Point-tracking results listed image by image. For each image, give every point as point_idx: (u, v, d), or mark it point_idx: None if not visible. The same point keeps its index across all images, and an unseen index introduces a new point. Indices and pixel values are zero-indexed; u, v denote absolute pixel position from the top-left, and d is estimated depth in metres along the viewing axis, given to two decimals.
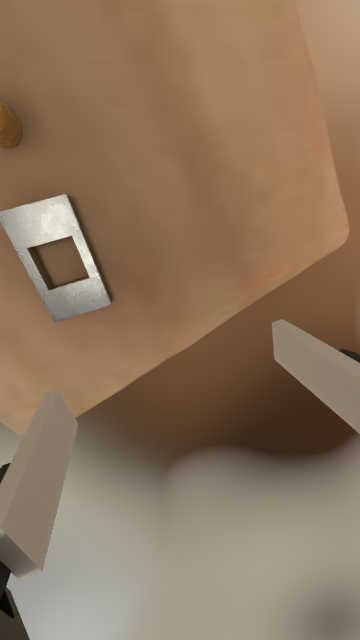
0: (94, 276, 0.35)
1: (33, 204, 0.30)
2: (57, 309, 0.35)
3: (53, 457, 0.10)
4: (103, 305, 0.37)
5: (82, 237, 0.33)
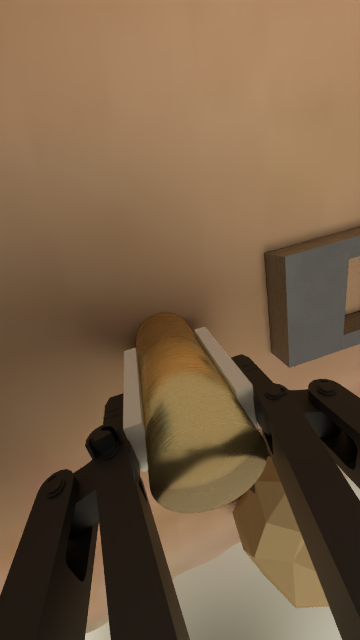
0: None
1: (289, 315, 0.17)
2: None
3: None
4: None
5: (357, 238, 0.16)
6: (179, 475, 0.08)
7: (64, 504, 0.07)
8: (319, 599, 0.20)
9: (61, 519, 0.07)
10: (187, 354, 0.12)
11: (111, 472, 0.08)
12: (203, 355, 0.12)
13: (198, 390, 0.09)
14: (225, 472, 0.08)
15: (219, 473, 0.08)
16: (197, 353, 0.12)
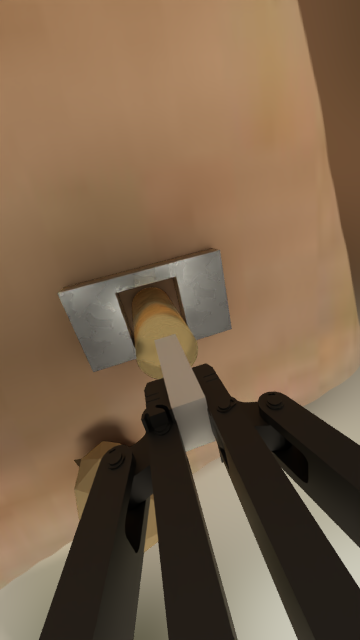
0: (174, 269, 0.23)
1: (77, 333, 0.23)
2: (214, 323, 0.26)
3: None
4: (219, 261, 0.24)
5: (117, 279, 0.22)
6: (151, 353, 0.16)
7: (124, 478, 0.08)
8: None
9: (121, 492, 0.07)
10: (161, 304, 0.20)
11: (163, 448, 0.08)
12: (171, 306, 0.20)
13: (162, 315, 0.17)
14: None
15: None
16: (167, 304, 0.20)
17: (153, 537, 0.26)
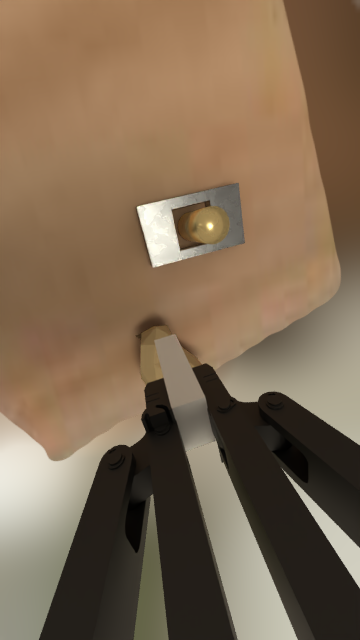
0: (209, 195, 0.35)
1: (146, 237, 0.36)
2: (233, 237, 0.38)
3: None
4: (237, 191, 0.36)
5: (173, 199, 0.34)
6: (204, 224, 0.28)
7: (124, 478, 0.08)
8: None
9: (121, 491, 0.07)
10: None
11: (163, 448, 0.08)
12: None
13: None
14: (217, 227, 0.29)
15: (215, 227, 0.29)
16: None
17: None
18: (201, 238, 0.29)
